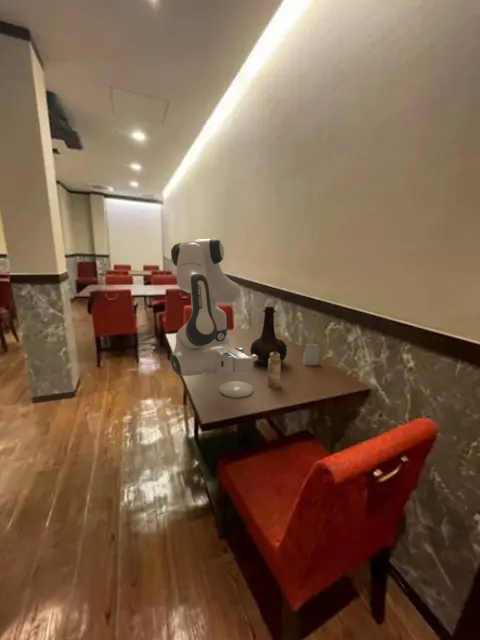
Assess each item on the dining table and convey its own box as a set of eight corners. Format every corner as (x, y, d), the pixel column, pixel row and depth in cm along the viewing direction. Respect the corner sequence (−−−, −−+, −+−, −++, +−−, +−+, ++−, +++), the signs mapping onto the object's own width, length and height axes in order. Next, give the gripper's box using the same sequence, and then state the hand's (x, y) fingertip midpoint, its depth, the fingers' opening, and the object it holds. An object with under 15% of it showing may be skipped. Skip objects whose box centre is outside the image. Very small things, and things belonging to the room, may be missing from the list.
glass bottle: (285, 370, 143) (288, 311, 138) (247, 367, 147) (248, 309, 141) (287, 358, 160) (290, 305, 155) (252, 355, 164) (254, 303, 158)
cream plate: (214, 387, 124) (214, 385, 123) (241, 381, 130) (241, 379, 130) (229, 400, 113) (230, 398, 113) (259, 393, 119) (259, 390, 119)
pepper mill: (265, 384, 128) (266, 350, 125) (274, 381, 131) (276, 349, 128) (272, 388, 124) (273, 354, 121) (282, 386, 126) (283, 352, 123)
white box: (318, 365, 152) (319, 345, 150) (304, 365, 151) (306, 345, 149) (315, 362, 156) (317, 343, 154) (302, 362, 155) (304, 343, 153)
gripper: (204, 358, 119) (235, 353, 126) (231, 376, 102) (264, 370, 110) (204, 342, 118) (235, 338, 125) (231, 358, 101) (265, 353, 108)
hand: (249, 353), depth 117 cm, fingers open, 8 cm apart
